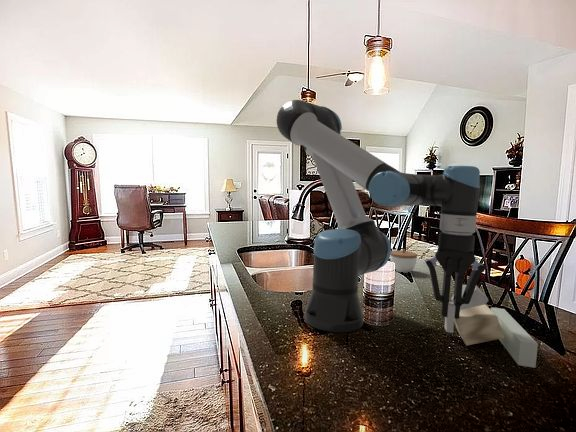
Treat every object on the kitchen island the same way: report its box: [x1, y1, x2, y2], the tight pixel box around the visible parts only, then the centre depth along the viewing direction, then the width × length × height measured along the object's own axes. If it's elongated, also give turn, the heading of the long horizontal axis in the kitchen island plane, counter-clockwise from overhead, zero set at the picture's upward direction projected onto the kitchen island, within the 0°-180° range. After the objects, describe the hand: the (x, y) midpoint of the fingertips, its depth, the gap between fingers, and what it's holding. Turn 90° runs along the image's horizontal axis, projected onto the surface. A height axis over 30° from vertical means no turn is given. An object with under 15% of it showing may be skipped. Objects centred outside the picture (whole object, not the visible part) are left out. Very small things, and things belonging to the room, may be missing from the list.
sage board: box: [490, 307, 539, 368], centre depth 76 cm, size 3×20×5 cm, turn 163°
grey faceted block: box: [450, 284, 490, 310], centre depth 96 cm, size 8×9×10 cm
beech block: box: [454, 303, 504, 347], centre depth 78 cm, size 8×8×5 cm
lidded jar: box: [389, 248, 418, 274], centre depth 141 cm, size 11×11×9 cm
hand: (448, 330), depth 80 cm, fingers closed
